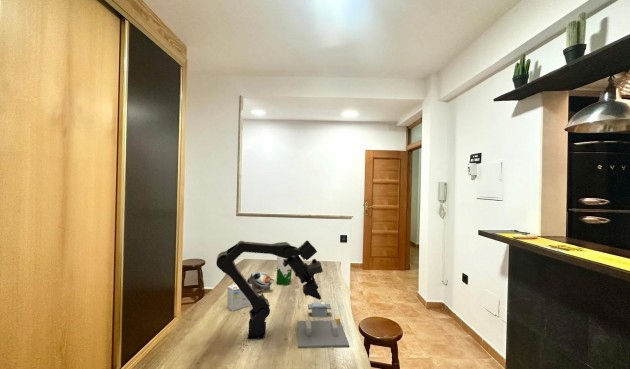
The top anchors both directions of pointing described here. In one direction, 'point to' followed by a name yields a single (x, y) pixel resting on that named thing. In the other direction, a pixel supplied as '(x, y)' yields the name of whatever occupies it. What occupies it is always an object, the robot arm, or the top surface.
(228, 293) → the light bulb box
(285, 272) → the milk carton
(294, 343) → the top surface
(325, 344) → the plate
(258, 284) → the lucky cat figurine
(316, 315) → the servo block
